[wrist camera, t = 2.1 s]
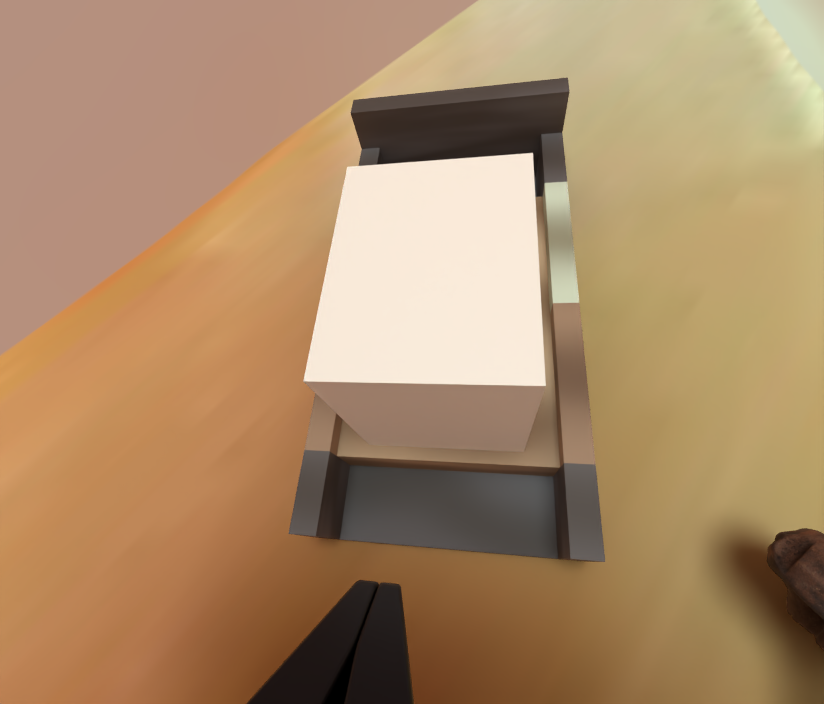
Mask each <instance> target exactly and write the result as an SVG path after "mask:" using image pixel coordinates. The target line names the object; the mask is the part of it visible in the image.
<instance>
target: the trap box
mask: <svg viewBox="0 0 824 704" xmlns="http://www.w3.org/2000/svg"><path fill="white" fill-rule="evenodd" d="M568 97H569V84H568V78H560V79H550V80H541V81H531V82H522V83H512V84H503V85H493V86H483V87H474V88H464V89H455V90H445V91H435V92H426V93H416V94H407V95H397V96H388V97H378V98H368V99H359V100H353V105H352V110H351V116H352V119H353V122H354V125H355V129H356V132H357V135H358V138H359V142H360V145H361V148H362V151H361V156H360V161H359V166H366V165H380V164H393V163H406V162H420V161H433V160H446V159H459V158H473V157H486V156H499V155H513V154H526V153H533V164H534V182H535V200H536V218H537V236H538V254H539V272H540V290H541V309H542V327H543V345H544V363H545V381H546V387H545V390H544V393H543V396H542V399H541V402H540V405H539V408H538V411H537V414H536V417H535V420H534V423H533V425H532V428H531V431H530V434H529V437H528V440H527V443H526V446H525V449H524V452H512V451H491V450H469V449H448V448H426V447H405V446H383V445H369V444H368V443H367V442H366V441H365V440H364V439H363V438H362V437H361V436H360V435H359V434H358V433H357V432H355V431H354V430H353V429H352V428H351V427H350V426H349V425H348V424H347V423H346V422H345V421H344V420H343V419H342V418H341V417H340V416H339V415H338V414H337V413H336V412H335V411H334V410H333V409H332V408H331V407H330V406H328V405H327V404H326V403H325V402H324V401H323V400H322V399H321V398H320V397H319V396H318V395H317V394H316V393H315V398H314V403H313V408H312V414H311V419H310V424H309V429H308V435H307V440H306V445H305V450H304V456H303V461H302V466H301V471H300V477H299V482H298V487H297V492H296V498H295V503H294V508H293V513H292V519H291V524H290V529H289V534H295V535H303V536H310V537H319V538H330V539H341V540H352V541H364V542H375V543H386V544H397V545H408V546H420V547H431V548H442V549H453V550H465V551H476V552H487V553H498V554H510V555H521V556H532V557H543V558H555V559H566V560H577V561H596V562H605V555H604V545H603V535H602V526H601V516H600V506H599V496H598V486H597V476H596V466H595V456H594V446H593V436H592V426H591V416H590V406H589V396H588V386H587V376H586V366H585V356H584V346H583V336H582V326H581V316H580V306H579V296H578V286H577V276H576V266H575V256H574V246H573V236H572V226H571V216H570V206H569V196H568V186H567V176H566V166H565V156H564V146H563V136H562V131H563V125H564V119H565V114H566V108H567V102H568Z"/></svg>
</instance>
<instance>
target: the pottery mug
mask: <svg viewBox="0 0 824 704" xmlns="http://www.w3.org/2000/svg"><path fill="white" fill-rule="evenodd" d="M767 562H768V565H769V567H770V568H771V569H772V570H773V571H774V572H775V573H776V574H777V575H778V576H779V577H780V578H781V579H782V580H783V582H784V583H785V585H786V587H787V589H788V595H787V607H786V608H787V612H788V613H789V614H790V615H791V616H792V617H793V619H794V620H795V621H796V622H797V623H799V624H800V625H801V626H803V627H804V628H806V629H807V631H809V632H810V633H812V634H813V635H814V636H815V637H816V643H817V644H818V645H819V646H820V647H821V649H822V650H823V651H824V534H823V533H821V532H819V531H816V530H812V529H807V528H805V529H799V530H796V531H787V532H781V533H779V534H777V535H776V538H775V541H774V542H773V543H772V544H771V545H770V546H769V547H768V554H767Z"/></svg>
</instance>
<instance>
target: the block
mask: <svg viewBox="0 0 824 704" xmlns="http://www.w3.org/2000/svg"><path fill="white" fill-rule="evenodd" d="M304 382H305V383H306V384H307V385H308V386H309V387H310V388H311V389H312V390H313V391H314V392H315V393H316V394H317V395H318V396H319V397H320V398H321V399H322V400H323V401H324V402H325V403H326V404H327V405H328V406H330V407H331V408H332V409H333V410H334V411H335V412H336V413H337V414H338V415H339V416H340V417H341V418H342V419H343V420H344V421H345V422H346V423H347V424H348V425H349V426H350V427H351V428H352V429H353V430H354V431H355V432H357V433H358V434H359V435H360V436H361V437H362V438H363V439H364V440H365V441H366V442H367V443H368V444H369V445H383V446H405V447H426V448H448V449H469V450H491V451H512V452H524V449H525V446H526V443H527V440H528V437H529V434H530V431H531V428H532V425H533V423H534V420H535V417H536V414H537V411H538V408H539V405H540V402H541V399H542V396H543V393H544V390H545V387H546V381H545V363H544V345H543V327H542V309H541V290H540V272H539V254H538V236H537V218H536V200H535V182H534V164H533V153H526V154H513V155H499V156H486V157H473V158H459V159H446V160H433V161H420V162H406V163H393V164H380V165H366V166H353V167H347V172H346V177H345V181H344V186H343V191H342V196H341V201H340V206H339V211H338V216H337V220H336V225H335V230H334V235H333V240H332V245H331V250H330V254H329V259H328V264H327V269H326V274H325V279H324V284H323V288H322V293H321V298H320V303H319V308H318V313H317V318H316V323H315V327H314V332H313V337H312V342H311V347H310V352H309V357H308V361H307V366H306V371H305V376H304Z"/></svg>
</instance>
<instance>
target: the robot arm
mask: <svg viewBox="0 0 824 704" xmlns="http://www.w3.org/2000/svg"><path fill="white" fill-rule="evenodd" d="M247 704H414V699H413V690H412V682H411V673H410V664H409V655H408V646H407V637H406V628H405V620H404V611H403V602H402V593H401V587H400V585H399V584H393V583H380V584H378V583H377V582H374V581H365V580H359V581H357V582H356V583H355V584H354V585H353V586H352V587H351V588H350V589H349V590H348V592H347V593H346V594H345V595H344V596H343V597H342V598H341V599H340V600H339V601H338V603H337V604H336V605H335V606H334V607H333V608H332V609H331V610H330V611H329V613H328V614H327V615H326V616H325V617H324V618H323V619H322V620H321V621H320V623H319V624H318V625H317V626H316V627H315V628H314V629H313V630H312V631H311V633H310V634H309V635H308V636H307V637H306V638H305V639H304V640H303V641H302V643H301V644H300V645H299V646H298V647H297V648H296V649H295V650H294V651H293V653H292V654H291V655H290V656H289V657H288V658H287V659H286V660H285V661H284V662H283V664H282V665H281V666H280V667H279V668H278V669H277V670H276V671H275V672H274V674H273V675H272V676H271V677H270V678H269V679H268V680H267V681H266V682H265V684H264V685H263V686H262V687H261V688H260V689H259V690H258V691H257V692H256V694H255V695H254V696H253V697H252V698H251V699H250V700H249V701H248V702H247Z"/></svg>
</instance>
